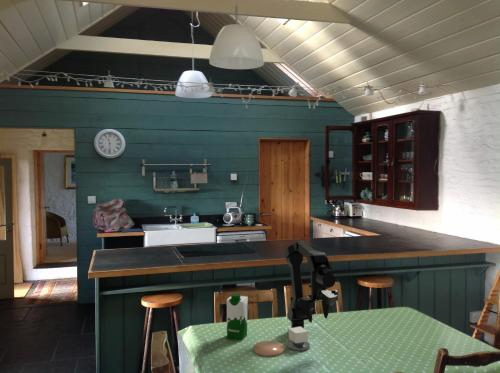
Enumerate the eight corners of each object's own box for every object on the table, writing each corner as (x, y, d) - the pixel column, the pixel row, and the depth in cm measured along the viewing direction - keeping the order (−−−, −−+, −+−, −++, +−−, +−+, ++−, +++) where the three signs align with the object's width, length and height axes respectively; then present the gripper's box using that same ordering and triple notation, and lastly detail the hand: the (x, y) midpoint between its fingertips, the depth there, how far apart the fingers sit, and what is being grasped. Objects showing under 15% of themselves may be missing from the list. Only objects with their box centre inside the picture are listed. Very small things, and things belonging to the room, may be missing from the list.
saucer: (248, 346, 186) (248, 343, 186) (275, 341, 191) (275, 339, 191) (261, 358, 174) (262, 355, 174) (290, 353, 180) (290, 350, 179)
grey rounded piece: (282, 344, 189) (282, 329, 188) (302, 340, 193) (302, 326, 193) (293, 353, 180) (294, 337, 179) (314, 349, 184) (314, 334, 184)
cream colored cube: (288, 338, 188) (288, 328, 187) (300, 336, 190) (300, 326, 190) (295, 343, 182) (295, 333, 182) (307, 341, 185) (308, 331, 184)
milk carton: (224, 339, 193) (224, 295, 192) (231, 332, 202) (232, 289, 201) (242, 342, 191) (243, 297, 190) (249, 334, 199) (249, 291, 198)
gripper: (316, 289, 169) (317, 329, 169) (347, 282, 181) (348, 320, 181) (296, 284, 178) (297, 322, 178) (327, 278, 190) (327, 314, 189)
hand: (318, 320), depth 181 cm, fingers open, 9 cm apart
